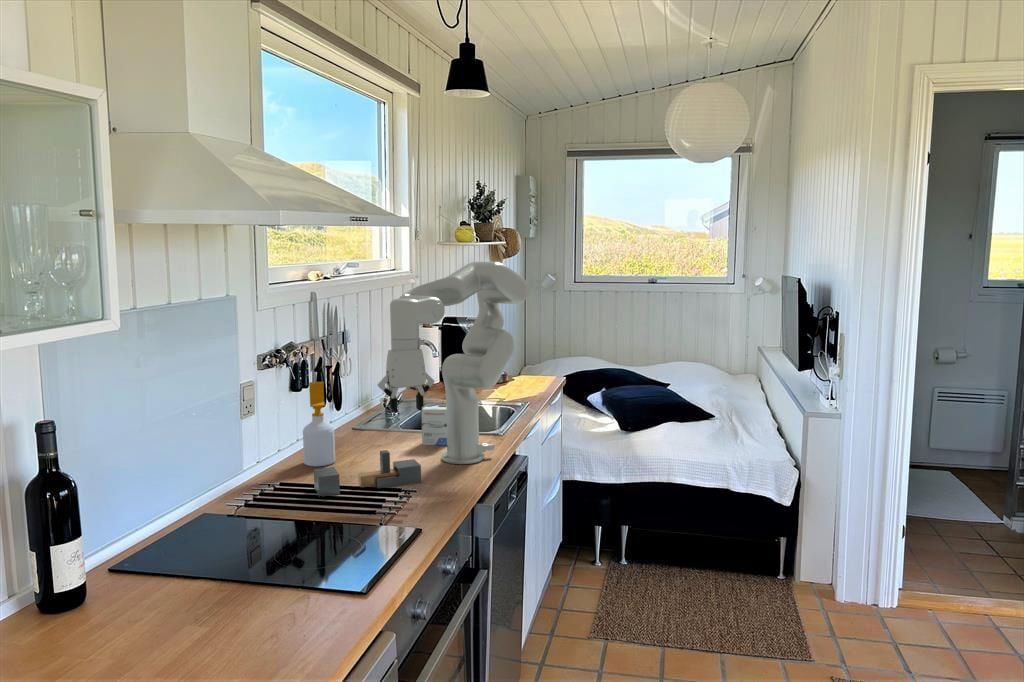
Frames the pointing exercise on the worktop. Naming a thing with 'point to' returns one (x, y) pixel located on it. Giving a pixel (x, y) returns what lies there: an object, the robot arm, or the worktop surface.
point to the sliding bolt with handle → (385, 471)
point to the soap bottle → (318, 432)
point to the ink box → (434, 426)
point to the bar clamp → (407, 474)
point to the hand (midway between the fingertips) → (407, 410)
